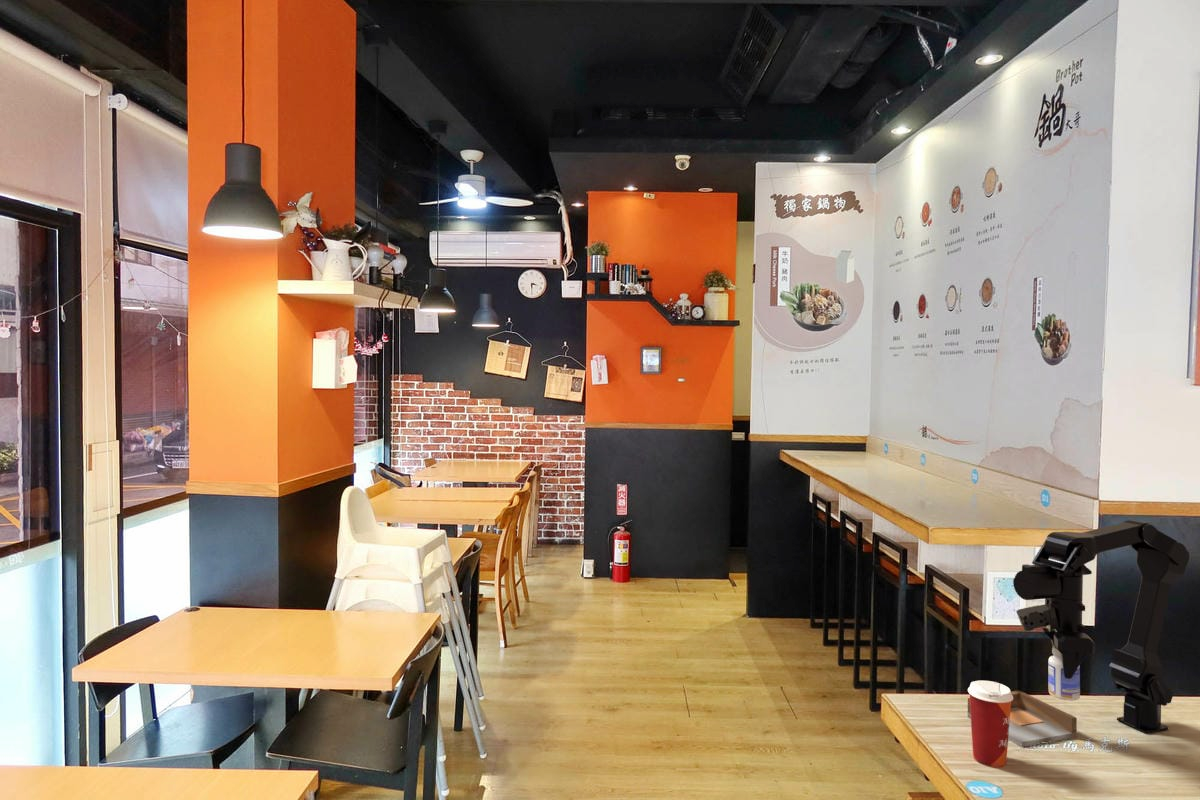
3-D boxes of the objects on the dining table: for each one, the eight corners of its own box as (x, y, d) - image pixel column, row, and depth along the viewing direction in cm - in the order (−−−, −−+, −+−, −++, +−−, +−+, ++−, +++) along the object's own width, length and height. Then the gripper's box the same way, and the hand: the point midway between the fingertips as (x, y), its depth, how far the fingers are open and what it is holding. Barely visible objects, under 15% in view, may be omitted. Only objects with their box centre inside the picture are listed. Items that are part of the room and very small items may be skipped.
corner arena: (1019, 708, 164) (1019, 690, 164) (1076, 737, 150) (1076, 717, 150) (967, 716, 160) (967, 698, 160) (1021, 747, 146) (1022, 727, 146)
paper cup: (1018, 772, 137) (1019, 697, 137) (973, 768, 138) (974, 693, 138) (1004, 751, 145) (1005, 680, 144) (961, 747, 146) (962, 677, 146)
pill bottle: (1084, 696, 150) (1084, 649, 150) (1073, 703, 147) (1073, 654, 146) (1054, 688, 154) (1055, 641, 154) (1043, 694, 151) (1043, 647, 151)
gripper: (1012, 581, 161) (1011, 652, 162) (1029, 604, 144) (1028, 684, 144) (1071, 586, 158) (1070, 659, 158) (1096, 611, 140) (1095, 693, 140)
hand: (1064, 672), depth 150 cm, fingers closed on pill bottle, 5 cm apart
